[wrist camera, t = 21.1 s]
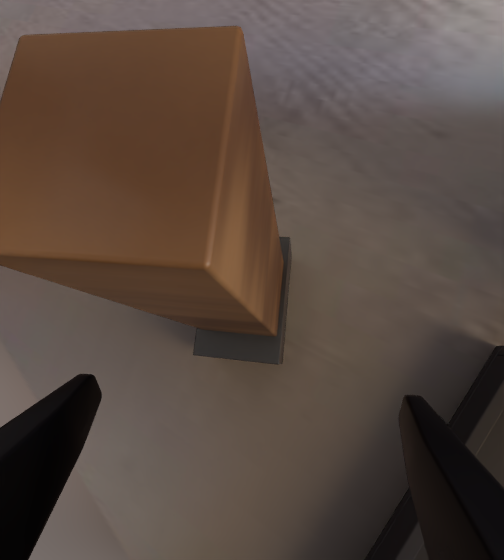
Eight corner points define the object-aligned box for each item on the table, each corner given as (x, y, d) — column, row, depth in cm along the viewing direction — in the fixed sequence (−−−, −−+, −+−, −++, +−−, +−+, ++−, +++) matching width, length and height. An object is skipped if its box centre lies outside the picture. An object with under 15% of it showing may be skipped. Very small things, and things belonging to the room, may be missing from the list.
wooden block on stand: (282, 363, 18) (212, 375, 4) (209, 355, 19) (-90, 339, 4) (291, 255, 20) (265, -46, 5) (222, 251, 20) (25, -28, 6)
